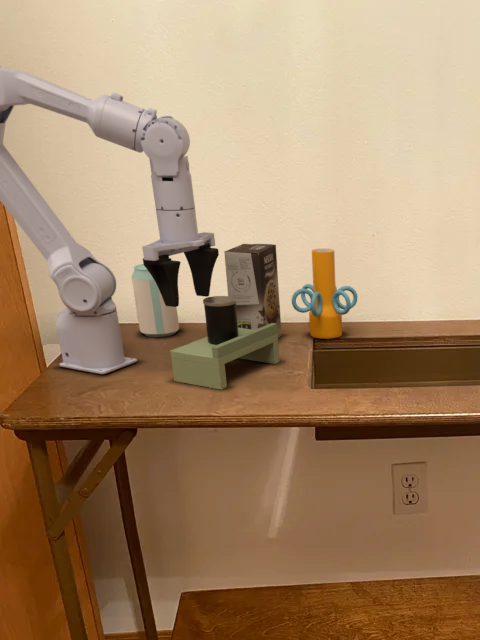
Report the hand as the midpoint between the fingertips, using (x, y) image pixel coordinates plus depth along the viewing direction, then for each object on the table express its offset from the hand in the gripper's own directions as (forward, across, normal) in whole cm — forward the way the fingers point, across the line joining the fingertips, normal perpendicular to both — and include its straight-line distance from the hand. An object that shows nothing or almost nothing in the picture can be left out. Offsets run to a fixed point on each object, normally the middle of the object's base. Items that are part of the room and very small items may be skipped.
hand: (187, 300), depth 126 cm
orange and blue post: (+11, +26, -10) cm, 30 cm away
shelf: (+10, 0, -7) cm, 12 cm away
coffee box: (+11, +17, -1) cm, 20 cm away
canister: (+6, 0, -6) cm, 8 cm away
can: (+10, +13, +18) cm, 25 cm away
